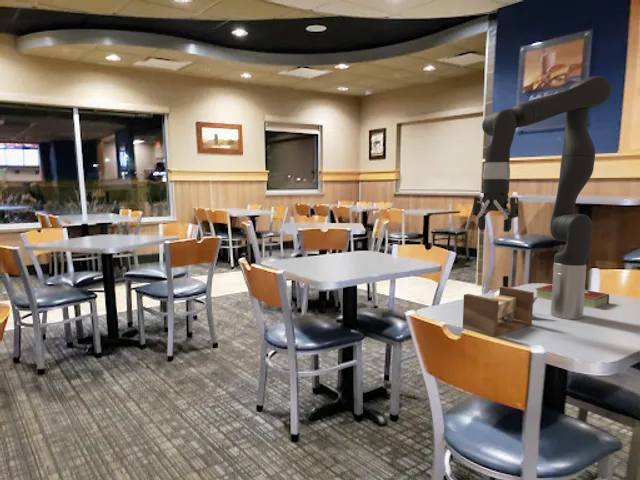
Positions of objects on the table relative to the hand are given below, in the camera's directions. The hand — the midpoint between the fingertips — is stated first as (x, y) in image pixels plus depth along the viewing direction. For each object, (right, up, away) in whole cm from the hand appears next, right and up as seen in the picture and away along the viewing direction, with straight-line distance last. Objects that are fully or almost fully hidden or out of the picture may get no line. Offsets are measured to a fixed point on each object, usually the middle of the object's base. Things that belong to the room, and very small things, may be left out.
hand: (494, 230), depth 138 cm
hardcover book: (+40, -26, +28) cm, 55 cm away
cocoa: (+9, -27, +13) cm, 31 cm away
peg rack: (-1, -29, -5) cm, 29 cm away
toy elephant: (+12, -28, +8) cm, 32 cm away
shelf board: (-1, -25, -5) cm, 25 cm away
